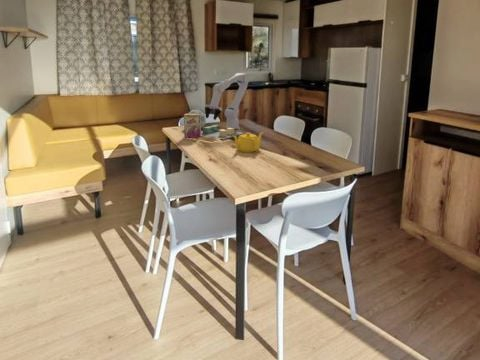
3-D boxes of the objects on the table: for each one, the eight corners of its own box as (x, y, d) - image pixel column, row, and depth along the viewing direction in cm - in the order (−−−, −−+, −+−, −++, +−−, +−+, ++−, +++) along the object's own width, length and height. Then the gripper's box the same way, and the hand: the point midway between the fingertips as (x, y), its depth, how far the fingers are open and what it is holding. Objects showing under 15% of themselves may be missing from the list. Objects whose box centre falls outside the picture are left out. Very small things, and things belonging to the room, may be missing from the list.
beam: (215, 130, 292) (215, 124, 291) (219, 130, 290) (219, 125, 289) (202, 133, 282) (202, 127, 281) (206, 134, 280) (206, 128, 278)
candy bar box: (184, 138, 272) (183, 114, 266) (186, 136, 276) (185, 113, 271) (200, 138, 271) (199, 115, 265) (201, 137, 275) (200, 113, 270)
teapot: (239, 155, 229) (239, 137, 226) (227, 149, 242) (227, 132, 239) (270, 151, 239) (271, 133, 235) (258, 145, 252) (258, 129, 248)
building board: (216, 129, 298) (216, 123, 297) (243, 134, 283) (243, 127, 282) (194, 135, 280) (194, 128, 279) (222, 140, 265) (222, 133, 264)
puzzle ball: (187, 131, 292) (186, 111, 287) (185, 127, 306) (184, 108, 301) (207, 130, 295) (206, 111, 290) (204, 126, 309) (204, 107, 304)
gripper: (204, 97, 282) (199, 115, 283) (219, 100, 274) (214, 118, 274) (210, 100, 288) (205, 118, 288) (225, 102, 279) (220, 121, 280)
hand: (210, 118), depth 282 cm, fingers open, 7 cm apart
